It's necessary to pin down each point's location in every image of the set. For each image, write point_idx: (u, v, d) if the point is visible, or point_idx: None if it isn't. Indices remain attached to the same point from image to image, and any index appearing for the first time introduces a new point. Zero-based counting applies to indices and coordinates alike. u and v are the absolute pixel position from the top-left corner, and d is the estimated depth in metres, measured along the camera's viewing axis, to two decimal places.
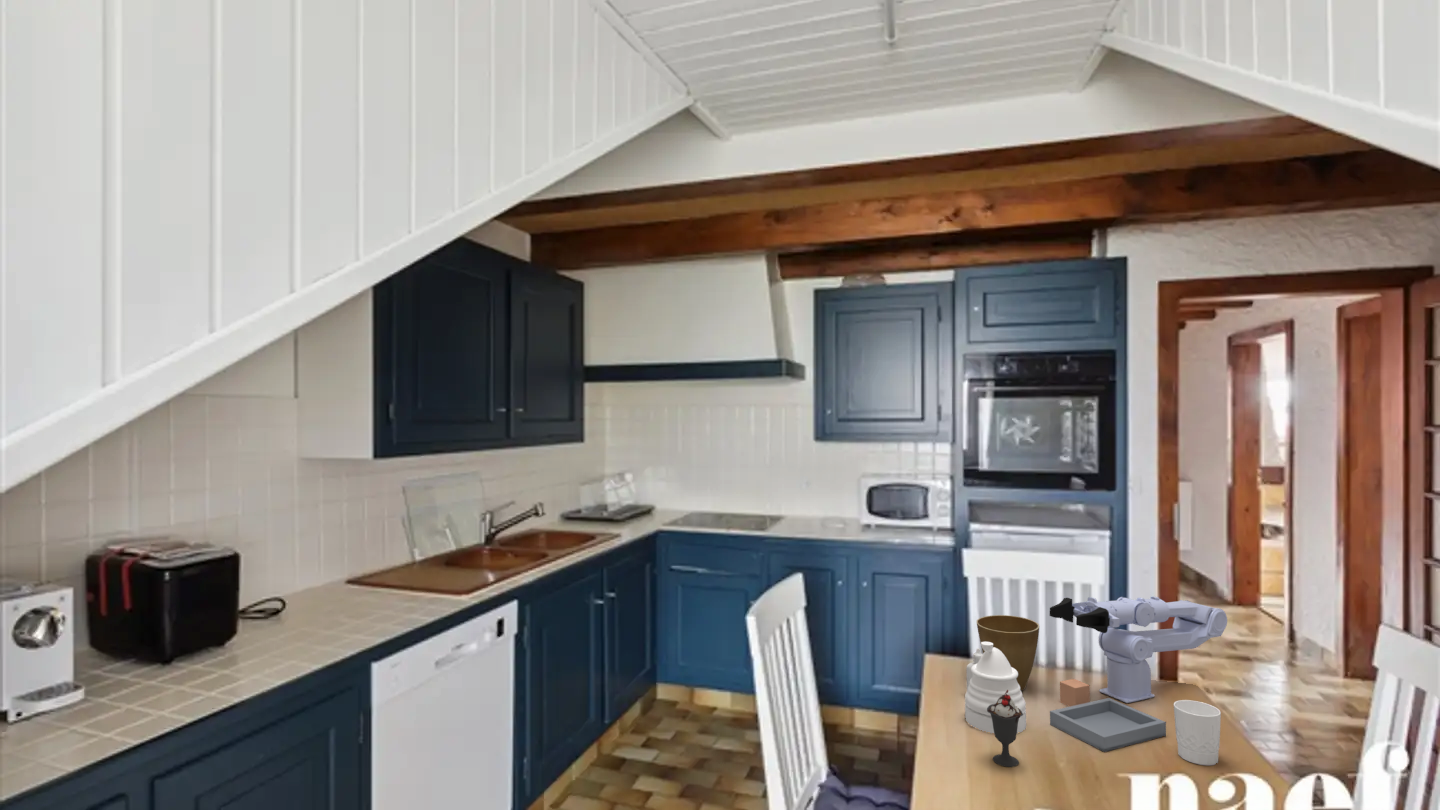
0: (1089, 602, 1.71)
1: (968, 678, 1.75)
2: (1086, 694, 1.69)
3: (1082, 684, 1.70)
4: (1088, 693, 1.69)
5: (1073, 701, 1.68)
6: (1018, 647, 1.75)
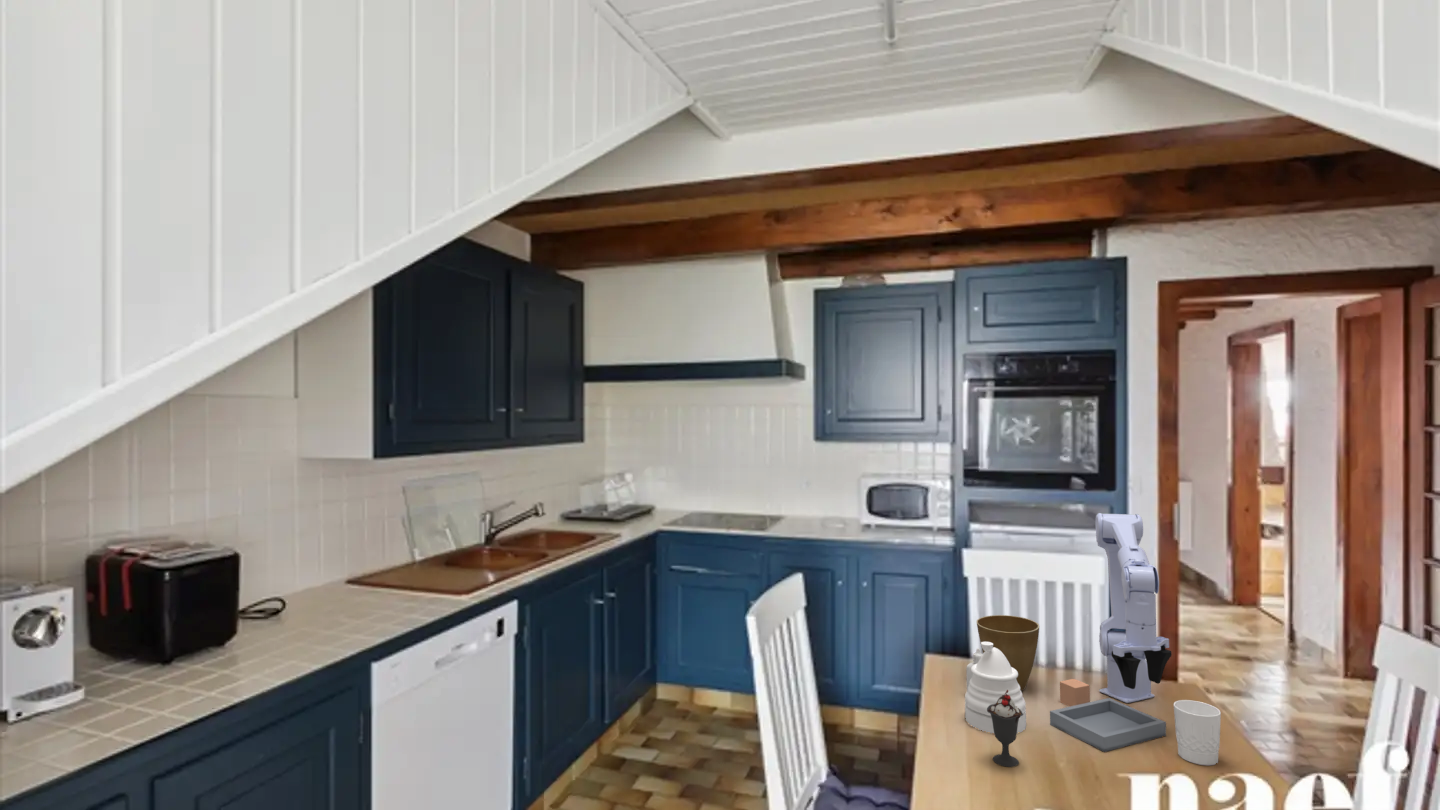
0: None
1: (968, 678, 1.75)
2: (1086, 694, 1.69)
3: (1082, 684, 1.70)
4: (1088, 693, 1.69)
5: (1073, 701, 1.68)
6: (1018, 647, 1.75)
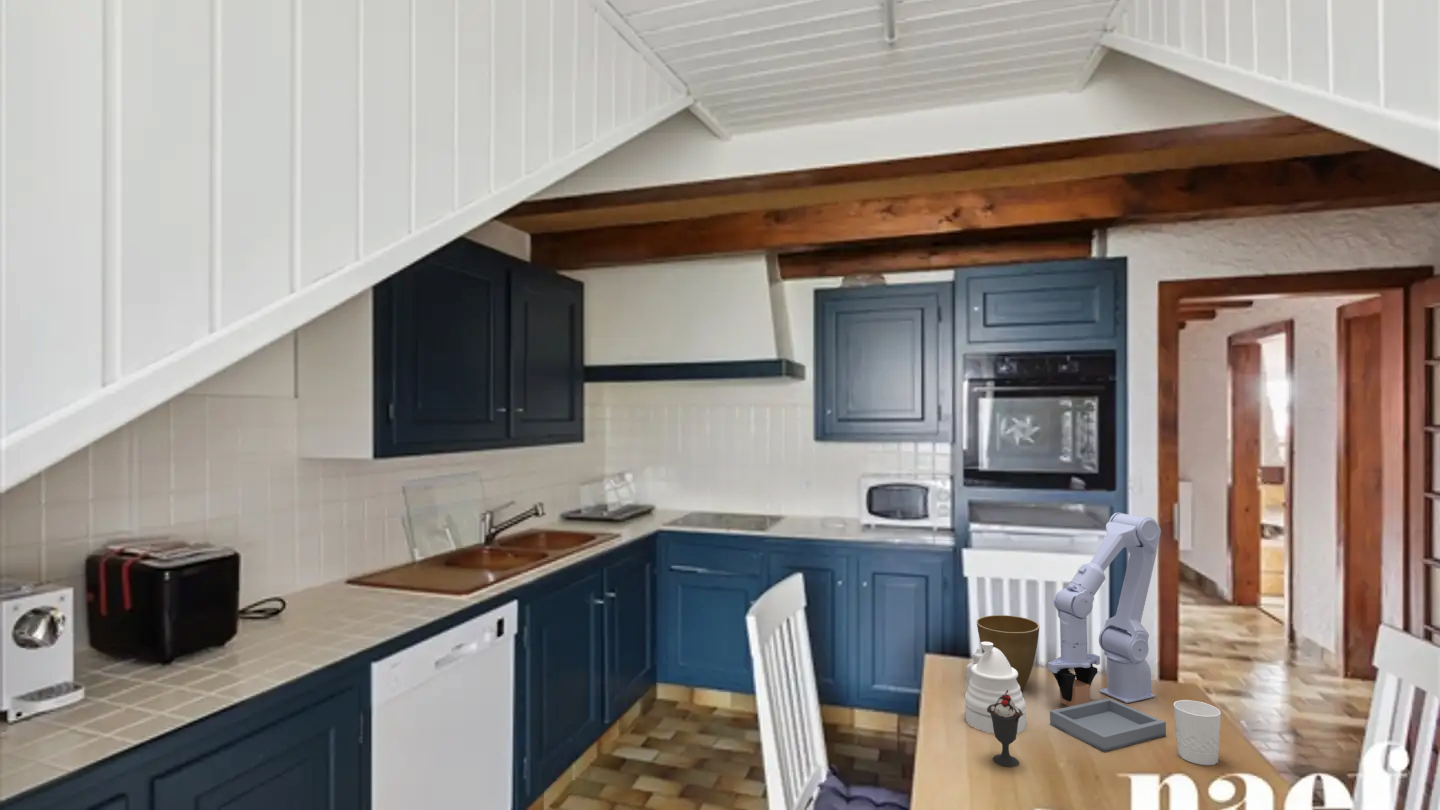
0: None
1: (968, 678, 1.75)
2: (1086, 694, 1.69)
3: (1082, 683, 1.70)
4: (1088, 693, 1.69)
5: (1073, 701, 1.68)
6: (1018, 647, 1.75)
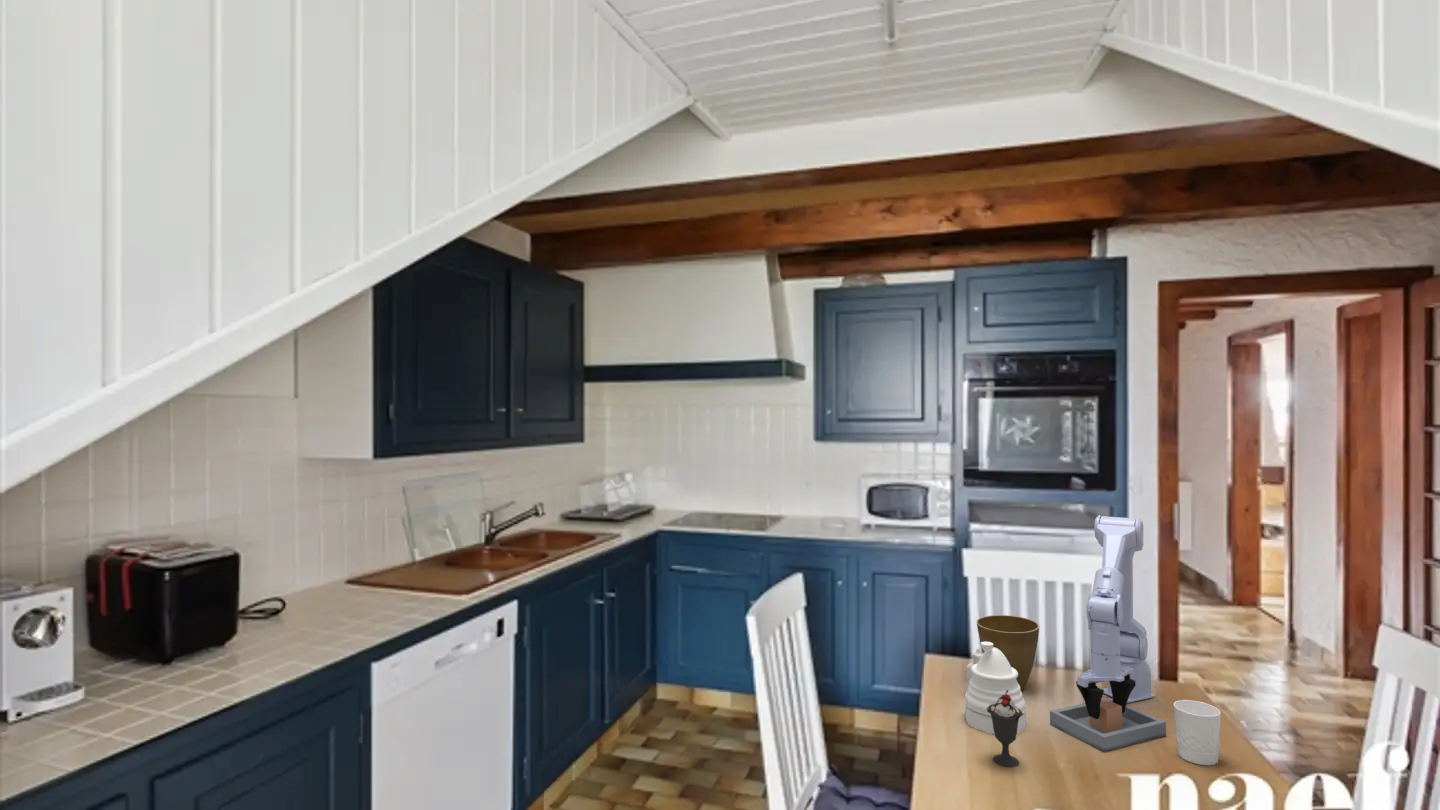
0: None
1: (968, 678, 1.75)
2: (1118, 716, 1.55)
3: (1113, 705, 1.56)
4: (1120, 715, 1.55)
5: (1104, 723, 1.54)
6: (1018, 647, 1.75)
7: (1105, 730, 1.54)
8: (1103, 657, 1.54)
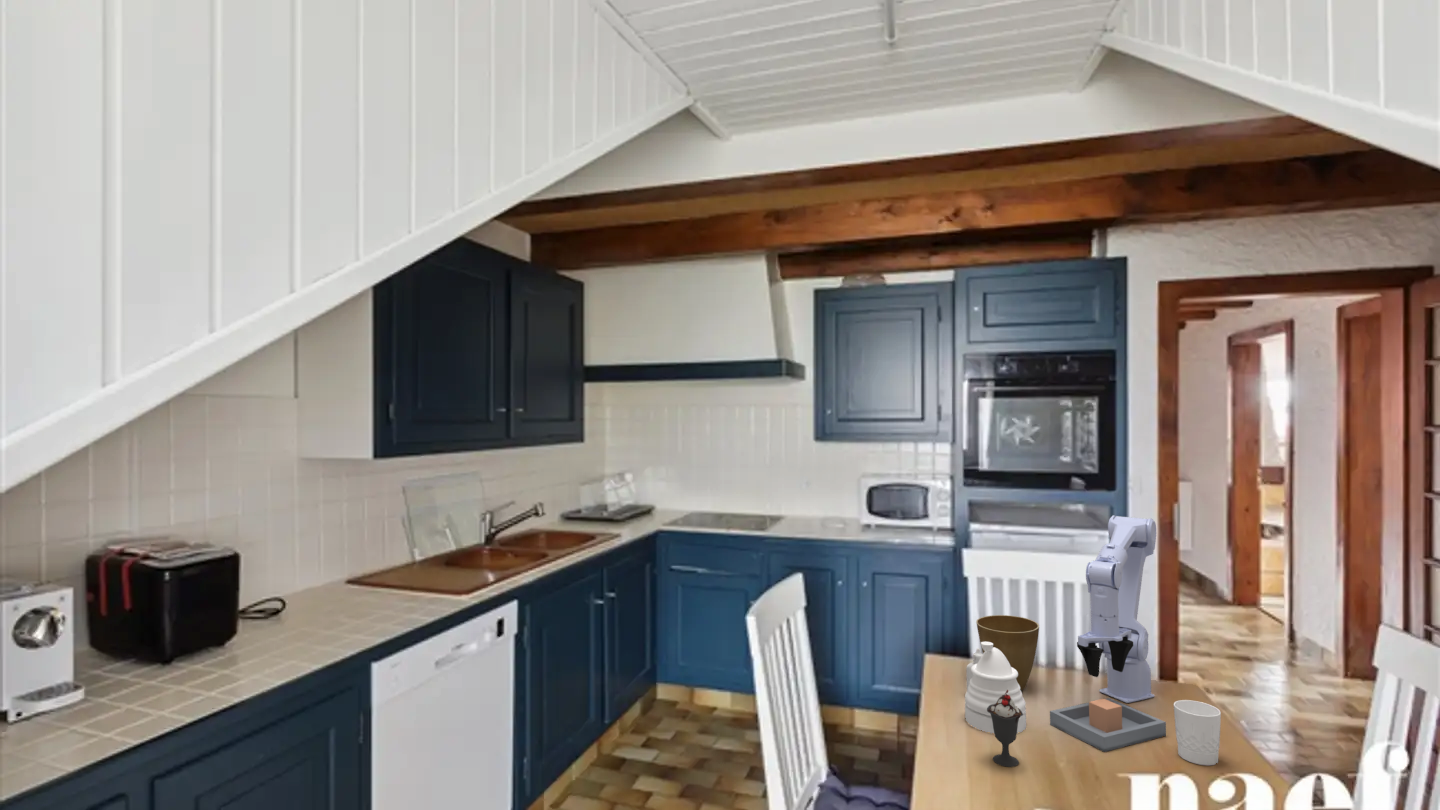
0: None
1: (968, 678, 1.75)
2: (1118, 716, 1.55)
3: (1113, 705, 1.56)
4: (1120, 715, 1.55)
5: (1104, 723, 1.54)
6: (1018, 647, 1.75)
7: (1105, 730, 1.54)
8: (1102, 618, 1.62)
